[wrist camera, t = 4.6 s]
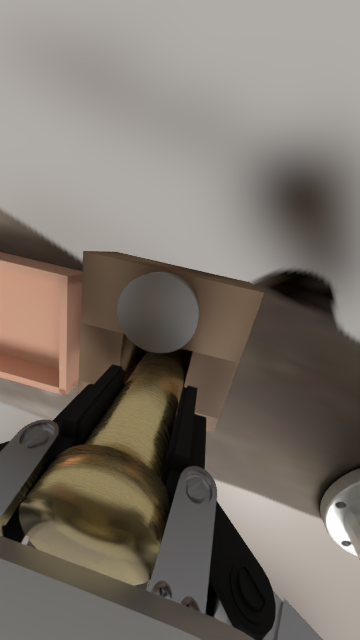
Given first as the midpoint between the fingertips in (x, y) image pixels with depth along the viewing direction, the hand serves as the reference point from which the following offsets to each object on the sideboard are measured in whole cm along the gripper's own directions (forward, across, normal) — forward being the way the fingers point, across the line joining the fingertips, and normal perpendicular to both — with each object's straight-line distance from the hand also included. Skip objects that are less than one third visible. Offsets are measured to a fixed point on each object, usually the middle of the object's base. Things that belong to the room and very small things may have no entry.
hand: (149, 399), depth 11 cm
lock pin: (+5, 0, 0) cm, 5 cm away
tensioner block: (+6, +1, -2) cm, 6 cm away
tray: (+6, +13, 0) cm, 14 cm away
